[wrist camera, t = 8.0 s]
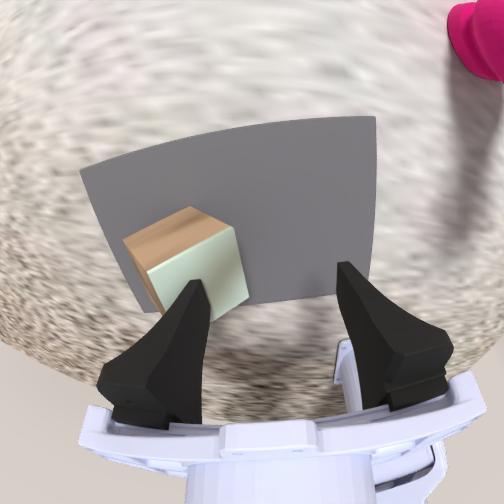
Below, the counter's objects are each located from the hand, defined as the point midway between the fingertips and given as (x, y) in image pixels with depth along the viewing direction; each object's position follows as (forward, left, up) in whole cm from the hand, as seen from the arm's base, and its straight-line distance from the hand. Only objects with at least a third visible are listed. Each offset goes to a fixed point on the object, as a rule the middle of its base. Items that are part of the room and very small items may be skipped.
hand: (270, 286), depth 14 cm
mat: (0, +2, -6) cm, 7 cm away
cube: (0, +3, 0) cm, 4 cm away
